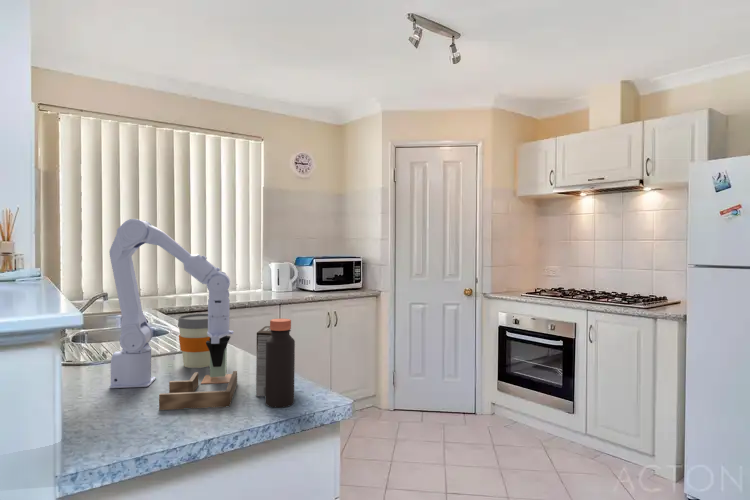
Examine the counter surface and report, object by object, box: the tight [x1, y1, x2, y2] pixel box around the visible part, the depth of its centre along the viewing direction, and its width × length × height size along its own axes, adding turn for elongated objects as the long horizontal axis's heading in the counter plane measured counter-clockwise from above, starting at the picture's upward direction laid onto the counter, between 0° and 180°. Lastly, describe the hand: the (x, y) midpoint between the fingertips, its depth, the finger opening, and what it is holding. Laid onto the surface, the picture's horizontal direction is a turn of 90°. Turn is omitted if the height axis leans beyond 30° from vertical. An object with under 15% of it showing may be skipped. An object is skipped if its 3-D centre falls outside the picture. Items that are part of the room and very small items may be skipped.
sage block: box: [209, 347, 228, 377], centre depth 135 cm, size 4×4×7 cm
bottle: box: [264, 318, 296, 409], centre depth 116 cm, size 7×7×20 cm
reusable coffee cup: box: [177, 313, 210, 369], centre depth 152 cm, size 13×13×15 cm
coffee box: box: [255, 325, 271, 397], centre depth 125 cm, size 9×6×16 cm
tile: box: [200, 373, 232, 385], centre depth 135 cm, size 8×8×1 cm
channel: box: [158, 370, 238, 411], centre depth 121 cm, size 16×18×4 cm
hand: (218, 364), depth 135 cm, fingers closed on sage block, 4 cm apart
